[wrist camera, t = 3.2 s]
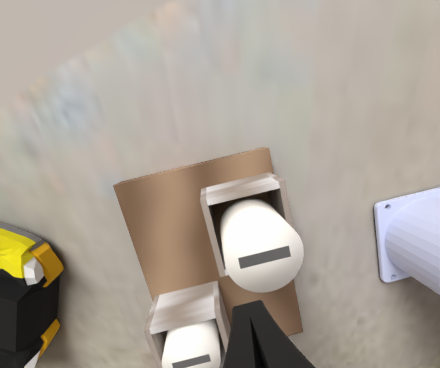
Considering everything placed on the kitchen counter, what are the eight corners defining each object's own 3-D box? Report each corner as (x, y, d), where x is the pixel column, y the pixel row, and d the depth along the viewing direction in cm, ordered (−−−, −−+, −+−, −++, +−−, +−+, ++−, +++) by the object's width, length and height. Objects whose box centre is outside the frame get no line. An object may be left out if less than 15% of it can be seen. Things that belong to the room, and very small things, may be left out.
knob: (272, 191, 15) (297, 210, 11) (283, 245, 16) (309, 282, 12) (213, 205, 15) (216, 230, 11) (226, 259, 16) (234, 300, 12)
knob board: (263, 147, 18) (284, 150, 14) (296, 318, 22) (322, 370, 17) (120, 181, 18) (89, 197, 13) (176, 349, 22) (168, 410, 17)
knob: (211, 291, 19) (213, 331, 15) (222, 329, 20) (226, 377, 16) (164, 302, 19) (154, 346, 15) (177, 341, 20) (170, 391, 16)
